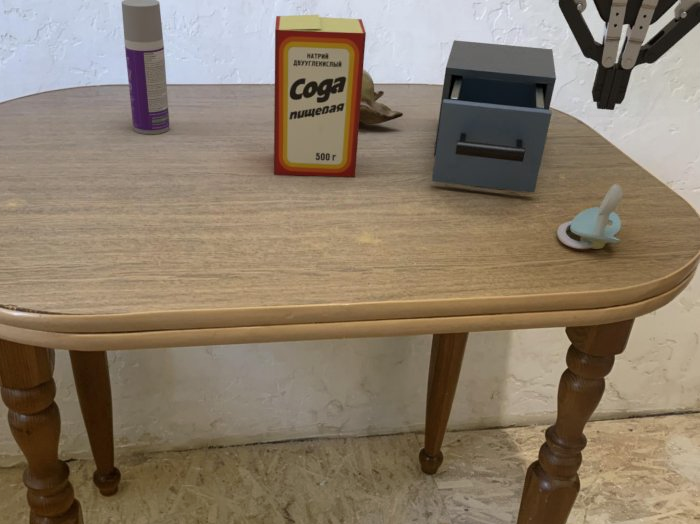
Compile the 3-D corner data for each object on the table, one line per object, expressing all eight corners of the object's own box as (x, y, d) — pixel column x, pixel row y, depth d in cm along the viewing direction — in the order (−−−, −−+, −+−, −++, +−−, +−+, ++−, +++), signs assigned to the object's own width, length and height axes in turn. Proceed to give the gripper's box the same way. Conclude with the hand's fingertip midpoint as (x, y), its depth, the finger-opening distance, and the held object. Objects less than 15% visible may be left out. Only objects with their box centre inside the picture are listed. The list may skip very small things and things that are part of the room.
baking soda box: (351, 156, 95) (361, 15, 86) (354, 176, 90) (366, 29, 80) (275, 154, 95) (276, 12, 85) (273, 174, 90) (275, 26, 80)
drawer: (534, 209, 82) (553, 127, 77) (428, 196, 84) (439, 115, 79) (532, 154, 96) (548, 80, 90) (440, 144, 97) (451, 71, 92)
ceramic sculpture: (282, 42, 103) (388, 48, 106) (277, 107, 108) (379, 111, 112) (297, 65, 95) (412, 70, 98) (291, 134, 100) (400, 137, 103)
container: (126, 127, 101) (112, 0, 92) (156, 120, 103) (146, -4, 94) (146, 137, 98) (134, 8, 89) (176, 129, 101) (168, 3, 91)
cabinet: (536, 167, 95) (556, 77, 88) (433, 155, 96) (445, 67, 90) (534, 131, 105) (552, 49, 99) (442, 121, 107) (453, 40, 101)
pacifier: (552, 251, 77) (615, 261, 75) (565, 191, 73) (631, 200, 72) (559, 222, 82) (618, 231, 81) (571, 165, 79) (633, 173, 77)
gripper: (577, -112, 60) (532, 112, 71) (758, -103, 58) (684, 127, 69) (574, -119, 66) (533, 89, 77) (738, -112, 64) (673, 102, 74)
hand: (605, 106), depth 73 cm, fingers closed
